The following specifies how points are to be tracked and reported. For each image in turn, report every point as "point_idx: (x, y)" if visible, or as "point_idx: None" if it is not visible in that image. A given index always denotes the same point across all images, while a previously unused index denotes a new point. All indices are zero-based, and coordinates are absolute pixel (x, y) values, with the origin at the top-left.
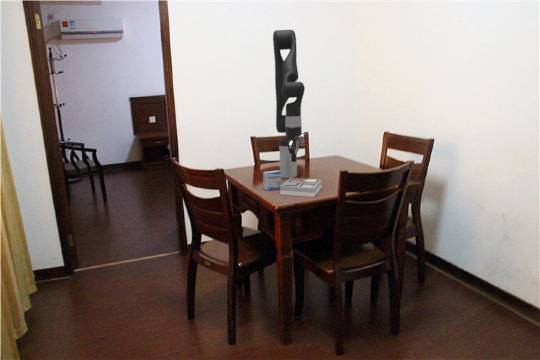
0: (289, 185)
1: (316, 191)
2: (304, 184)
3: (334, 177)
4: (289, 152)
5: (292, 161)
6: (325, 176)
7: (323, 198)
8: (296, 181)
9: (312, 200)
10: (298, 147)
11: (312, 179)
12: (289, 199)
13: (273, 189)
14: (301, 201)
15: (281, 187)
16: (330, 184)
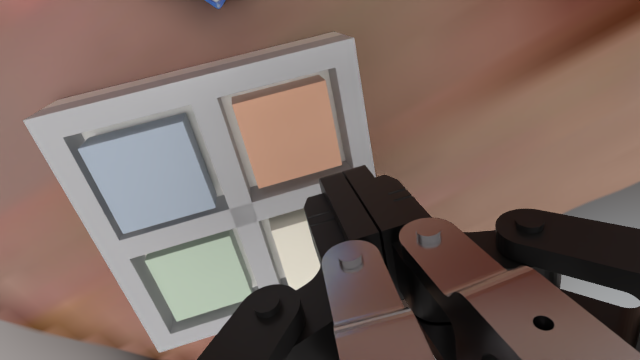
0: (99, 186)
1: None
2: (231, 244)
3: (614, 191)
4: (224, 325)
5: (322, 189)
6: (636, 133)
7: (176, 353)
8: (284, 145)
9: (100, 334)
10: (629, 332)
11: None
12: (6, 224)
13: None
14: (32, 302)
15: (35, 130)
16: None
